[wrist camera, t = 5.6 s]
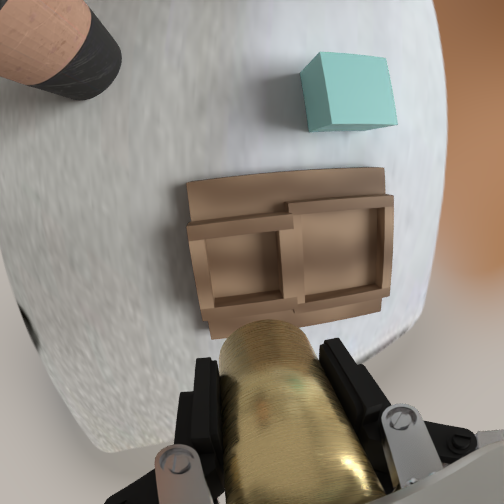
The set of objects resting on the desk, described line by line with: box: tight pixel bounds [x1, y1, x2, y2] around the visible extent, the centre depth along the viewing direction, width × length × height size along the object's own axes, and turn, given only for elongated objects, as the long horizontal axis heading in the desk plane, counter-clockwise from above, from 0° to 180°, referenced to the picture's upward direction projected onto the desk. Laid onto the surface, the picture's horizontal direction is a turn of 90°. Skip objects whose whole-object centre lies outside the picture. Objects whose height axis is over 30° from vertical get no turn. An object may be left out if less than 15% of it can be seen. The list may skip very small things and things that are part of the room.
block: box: [300, 52, 398, 132], centre depth 21 cm, size 6×6×6 cm
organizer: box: [186, 167, 394, 340], centre depth 26 cm, size 15×18×4 cm
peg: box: [219, 319, 386, 504], centre depth 8 cm, size 4×4×8 cm
